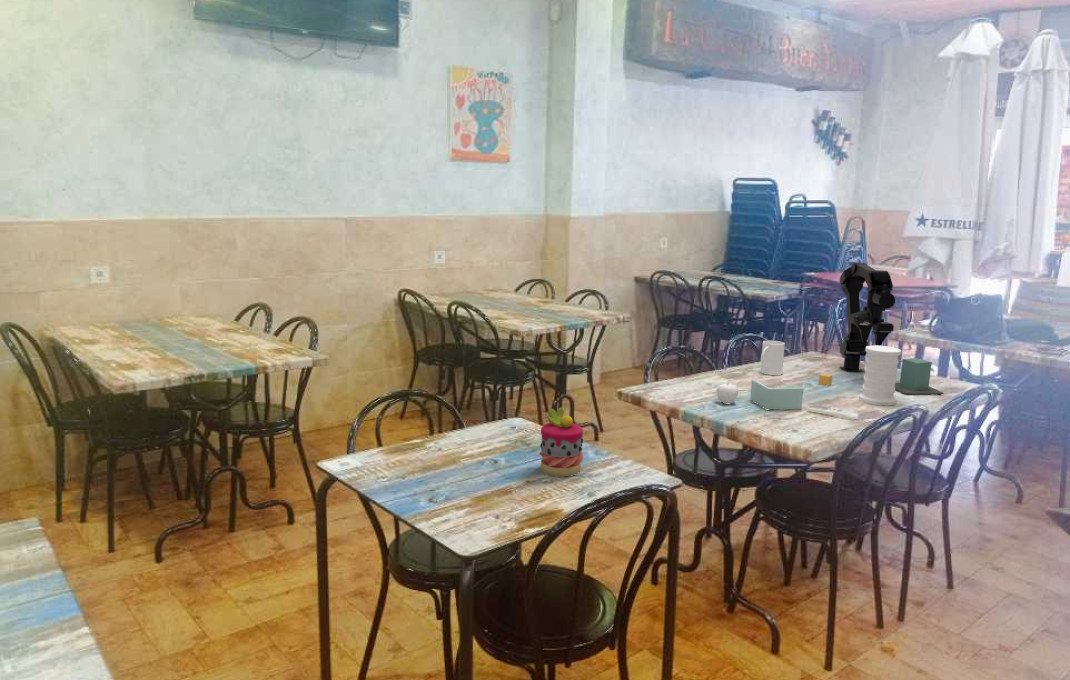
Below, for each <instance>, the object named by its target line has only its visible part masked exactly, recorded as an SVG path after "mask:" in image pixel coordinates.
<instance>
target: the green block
mask: <svg viewBox="0 0 1070 680" xmlns="http://www.w3.org/2000/svg"><path fill="white" fill-rule="evenodd" d="M932 362H933V361H929V360H926V359H921V358H918V357H913V358H911V357H910V358H902V360H901V367H900V368H901V370H900V377H899V378H900V379H899V383H900V385H899V386H901V387H904V388H907V389H910V390H913V391H917V390H928V388H929V387H930V386H929V385H930V379H931V371H932V364H933V363H932Z"/></svg>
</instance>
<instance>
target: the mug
mask: <svg viewBox="0 0 1070 680" xmlns="http://www.w3.org/2000/svg"><path fill="white" fill-rule="evenodd" d="M785 345H786V343H785V342H783V341H778V340H763V341H762V347H761V354H760V355H761V356H760V367H759V368H760V369H759V373H760V372H761V373H760V374H762V373H764V374H763V375H765V374H769V375H768V376H772V375H778V376H782V375H783V374H784V373H783V368H784V355H785ZM781 374H782V375H781Z"/></svg>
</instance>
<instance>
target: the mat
mask: <svg viewBox="0 0 1070 680" xmlns="http://www.w3.org/2000/svg"><path fill="white" fill-rule="evenodd" d="M899 385H900V382H896V384H895V392H898V393H900V394H903V395H904V396H932V395H931V394H944V392H943V391H941V390H938V389H936V388H933V387H931V386H929V388H928V390H917V391H913V390H910V389H907V388H904V387H901V386H899Z"/></svg>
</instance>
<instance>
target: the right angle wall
mask: <svg viewBox="0 0 1070 680" xmlns="http://www.w3.org/2000/svg"><path fill="white" fill-rule="evenodd" d="M750 386H751V387H750V399H751V400H753V401H754V402H756V403H758V404H759V405H761V406H762V407H764V408H766V409H790V410H802V409H803V398H804V397H803V396H804V390H805V389H804V388H803V387H780V388H777V387H776V388H774V387H773V388H770V387H768V386H767V385H765V384H763V383H761V382H760V381H758V380H757V379H751V385H750ZM750 399H749V400H750ZM751 400H750V401H751ZM753 401H752V402H753ZM754 402H753V403H754ZM756 403H755V404H756ZM758 404H757V405H758ZM759 405H758V406H759ZM761 406H760V407H761ZM762 407H761V408H762ZM764 408H763V409H764ZM766 409H765V410H766Z"/></svg>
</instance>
